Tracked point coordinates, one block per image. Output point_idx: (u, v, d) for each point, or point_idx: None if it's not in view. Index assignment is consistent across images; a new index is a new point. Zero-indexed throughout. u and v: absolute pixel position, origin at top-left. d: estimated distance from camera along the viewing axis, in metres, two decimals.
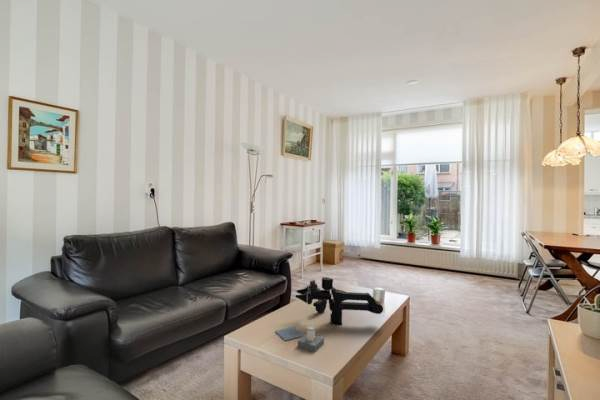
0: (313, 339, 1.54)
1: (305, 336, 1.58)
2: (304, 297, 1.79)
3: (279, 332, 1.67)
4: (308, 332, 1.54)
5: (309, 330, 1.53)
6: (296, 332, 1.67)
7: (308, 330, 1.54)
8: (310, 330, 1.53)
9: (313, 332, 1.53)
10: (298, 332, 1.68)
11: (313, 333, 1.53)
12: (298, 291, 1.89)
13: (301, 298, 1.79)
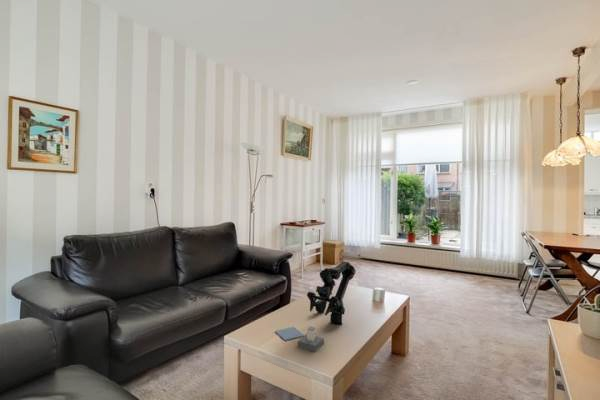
0: (313, 339, 1.54)
1: (305, 336, 1.58)
2: (331, 306, 1.62)
3: (279, 332, 1.67)
4: (308, 332, 1.54)
5: (309, 330, 1.53)
6: (296, 332, 1.67)
7: (308, 330, 1.54)
8: (310, 330, 1.53)
9: (313, 332, 1.53)
10: (298, 332, 1.68)
11: (313, 333, 1.53)
12: (311, 309, 1.65)
13: (330, 310, 1.61)
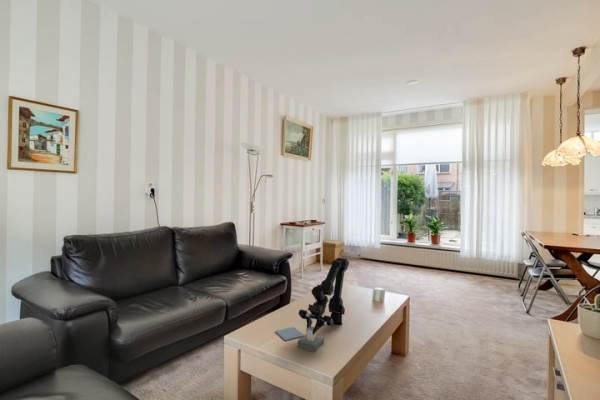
0: (313, 339, 1.54)
1: (305, 336, 1.58)
2: None
3: (279, 332, 1.67)
4: (308, 332, 1.54)
5: (309, 330, 1.53)
6: (296, 332, 1.67)
7: (308, 330, 1.54)
8: (310, 330, 1.53)
9: None
10: (298, 332, 1.68)
11: None
12: None
13: (317, 328, 1.55)
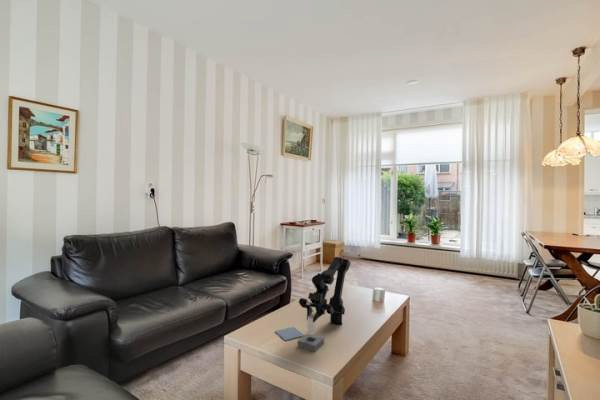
0: (313, 327, 1.54)
1: (305, 336, 1.58)
2: (319, 312, 1.55)
3: (279, 332, 1.67)
4: (308, 320, 1.53)
5: (309, 318, 1.53)
6: (296, 332, 1.67)
7: (308, 318, 1.54)
8: (310, 318, 1.53)
9: None
10: (298, 332, 1.68)
11: None
12: None
13: (318, 316, 1.54)
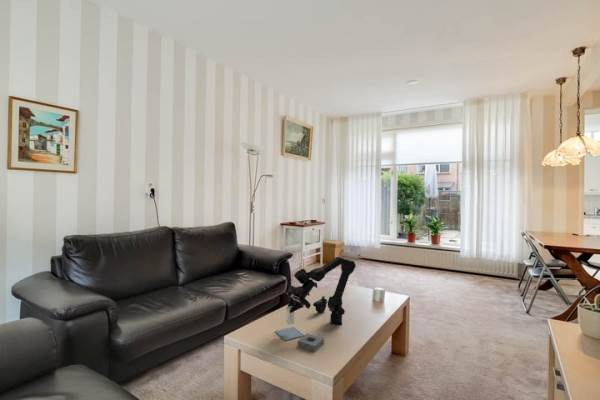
0: (291, 318, 1.65)
1: (305, 336, 1.58)
2: (297, 305, 1.65)
3: (279, 332, 1.67)
4: (287, 310, 1.66)
5: (288, 308, 1.65)
6: (296, 332, 1.67)
7: (287, 308, 1.66)
8: (288, 308, 1.65)
9: None
10: (298, 332, 1.68)
11: None
12: None
13: (296, 308, 1.64)
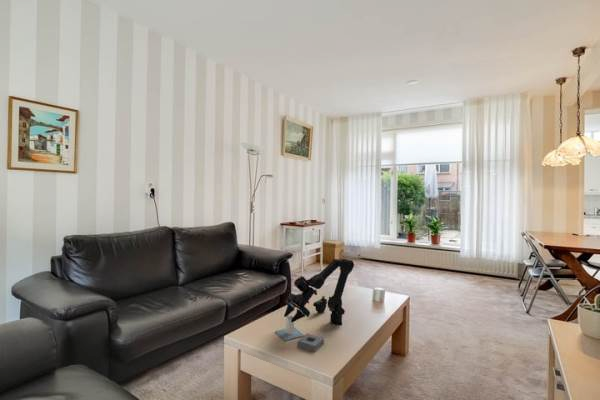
0: (291, 327, 1.65)
1: (305, 336, 1.58)
2: (299, 314, 1.63)
3: (279, 332, 1.67)
4: (287, 320, 1.66)
5: (287, 318, 1.66)
6: (296, 332, 1.67)
7: (287, 318, 1.66)
8: (288, 318, 1.65)
9: (290, 320, 1.64)
10: (298, 332, 1.68)
11: (290, 322, 1.64)
12: (286, 315, 1.69)
13: (297, 318, 1.63)
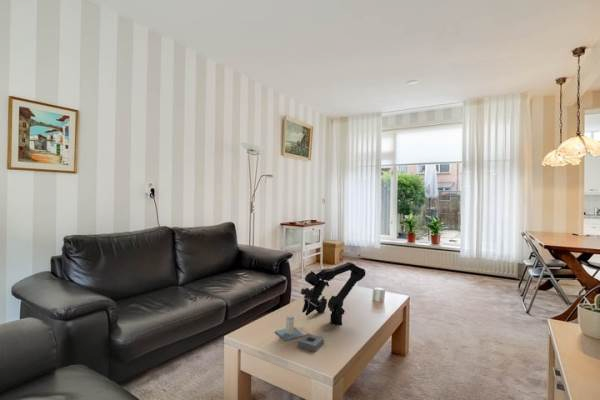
0: (291, 327, 1.65)
1: (305, 336, 1.58)
2: (311, 306, 1.68)
3: (279, 332, 1.67)
4: (287, 320, 1.66)
5: (287, 318, 1.66)
6: (296, 332, 1.67)
7: (287, 318, 1.66)
8: (288, 318, 1.65)
9: (290, 320, 1.64)
10: (298, 332, 1.68)
11: (290, 322, 1.64)
12: (303, 310, 1.77)
13: (311, 310, 1.68)
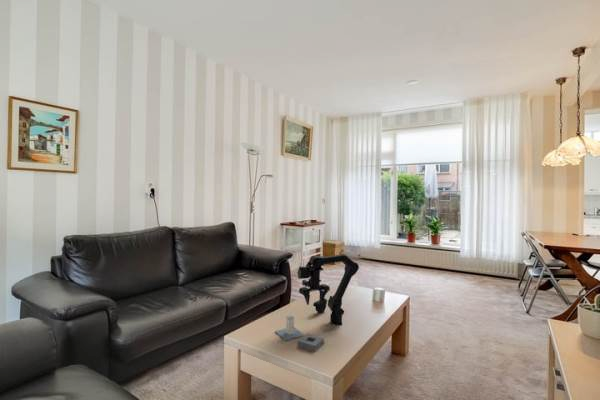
0: (291, 327, 1.65)
1: (305, 336, 1.58)
2: (306, 296, 1.75)
3: (279, 332, 1.67)
4: (287, 320, 1.66)
5: (287, 318, 1.66)
6: (296, 332, 1.67)
7: (287, 318, 1.66)
8: (288, 318, 1.65)
9: (290, 320, 1.64)
10: (298, 332, 1.68)
11: (290, 322, 1.64)
12: (320, 300, 1.81)
13: (306, 299, 1.74)
